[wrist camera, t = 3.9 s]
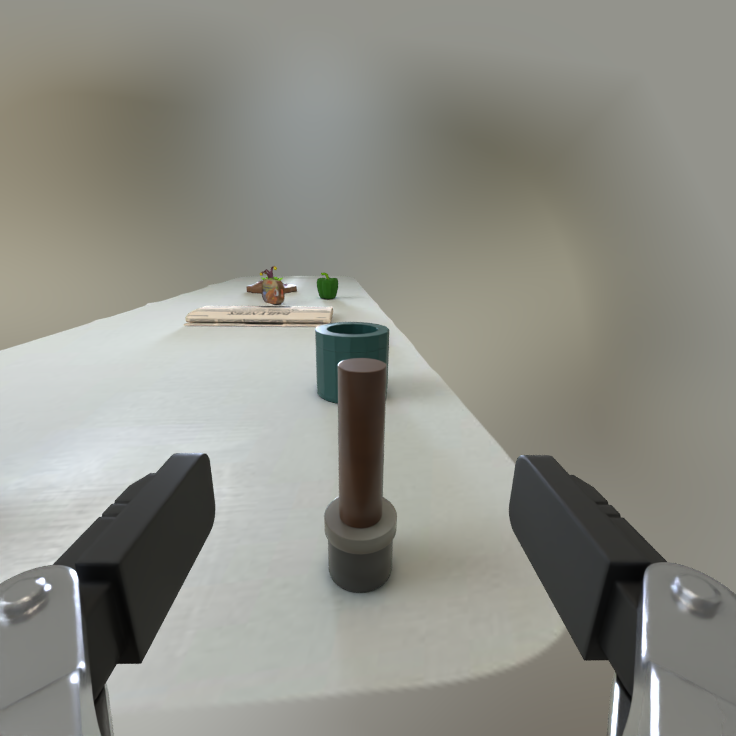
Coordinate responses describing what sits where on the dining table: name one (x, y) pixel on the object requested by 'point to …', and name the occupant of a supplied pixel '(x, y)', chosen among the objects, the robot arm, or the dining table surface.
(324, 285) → the bell pepper
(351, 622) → the dining table surface
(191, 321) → the newspaper
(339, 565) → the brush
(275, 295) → the tin
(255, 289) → the plant
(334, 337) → the jar
